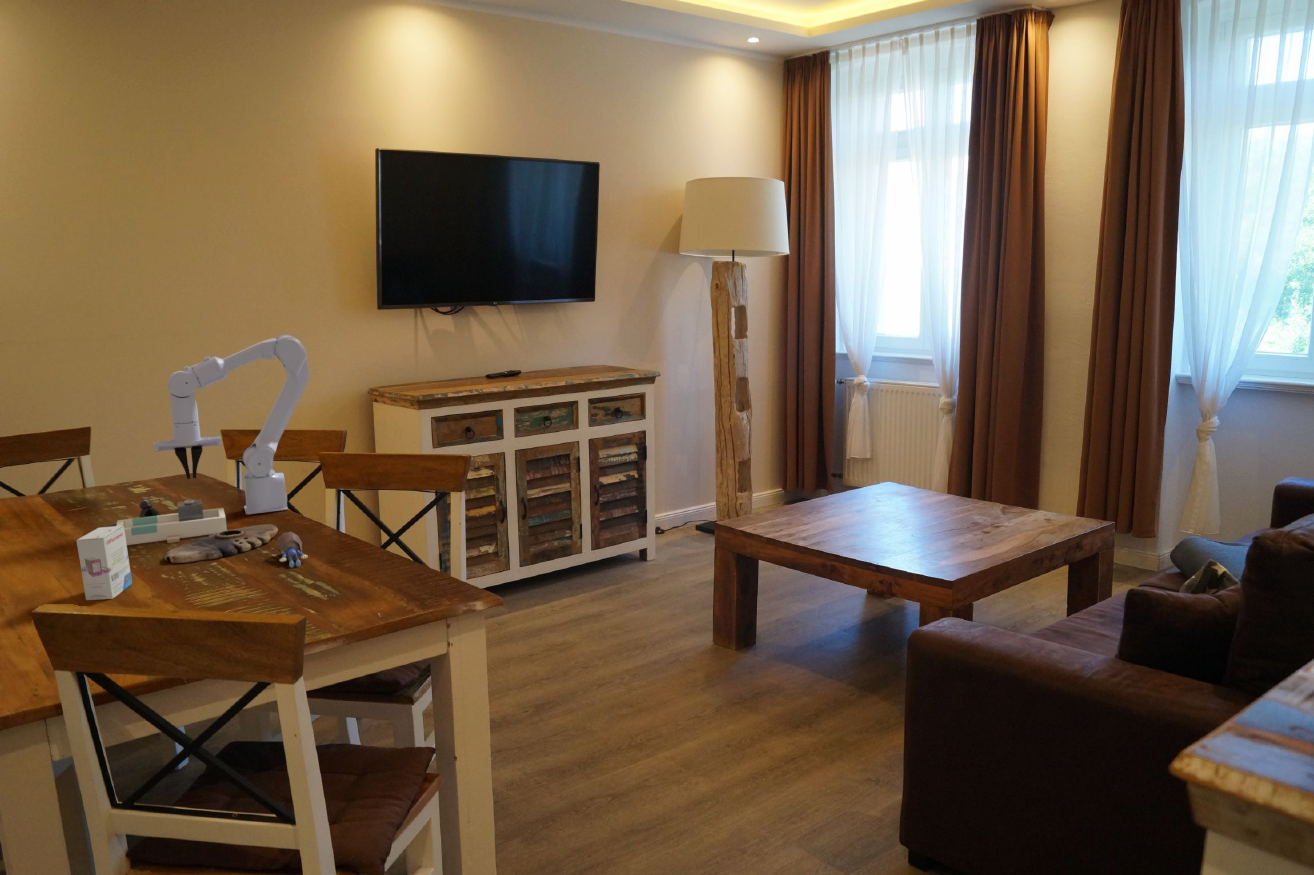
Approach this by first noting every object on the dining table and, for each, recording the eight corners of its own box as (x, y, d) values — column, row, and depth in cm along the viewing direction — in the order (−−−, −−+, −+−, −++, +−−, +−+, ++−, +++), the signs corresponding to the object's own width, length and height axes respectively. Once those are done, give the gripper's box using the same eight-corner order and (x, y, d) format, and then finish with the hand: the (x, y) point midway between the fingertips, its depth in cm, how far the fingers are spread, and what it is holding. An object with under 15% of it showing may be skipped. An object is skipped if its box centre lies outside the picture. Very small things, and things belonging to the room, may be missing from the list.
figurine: (310, 573, 196) (301, 549, 206) (309, 550, 194) (300, 527, 204) (282, 578, 193) (274, 553, 203) (280, 554, 191) (272, 531, 202)
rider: (203, 518, 225) (201, 497, 224) (204, 523, 220) (201, 501, 219) (179, 521, 222) (177, 499, 222) (179, 526, 218) (177, 504, 217)
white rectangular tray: (224, 522, 229) (223, 507, 229) (227, 535, 218) (226, 520, 217) (119, 535, 220) (117, 520, 219) (116, 549, 208) (114, 534, 207)
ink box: (106, 585, 185) (98, 525, 183) (133, 584, 185) (125, 524, 183) (83, 600, 176) (75, 538, 174) (112, 599, 177) (104, 537, 175)
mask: (146, 545, 202) (254, 513, 222) (149, 561, 203) (256, 527, 222) (185, 558, 194) (293, 523, 214) (187, 574, 194) (295, 537, 214)
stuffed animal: (189, 518, 230) (141, 498, 222) (168, 556, 228) (118, 537, 220) (175, 509, 238) (127, 489, 230) (154, 545, 236) (105, 526, 228)
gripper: (218, 416, 236) (223, 471, 239) (151, 422, 230) (157, 478, 232) (219, 420, 230) (225, 476, 232) (151, 426, 224) (157, 483, 226)
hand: (191, 477), depth 232 cm, fingers closed
